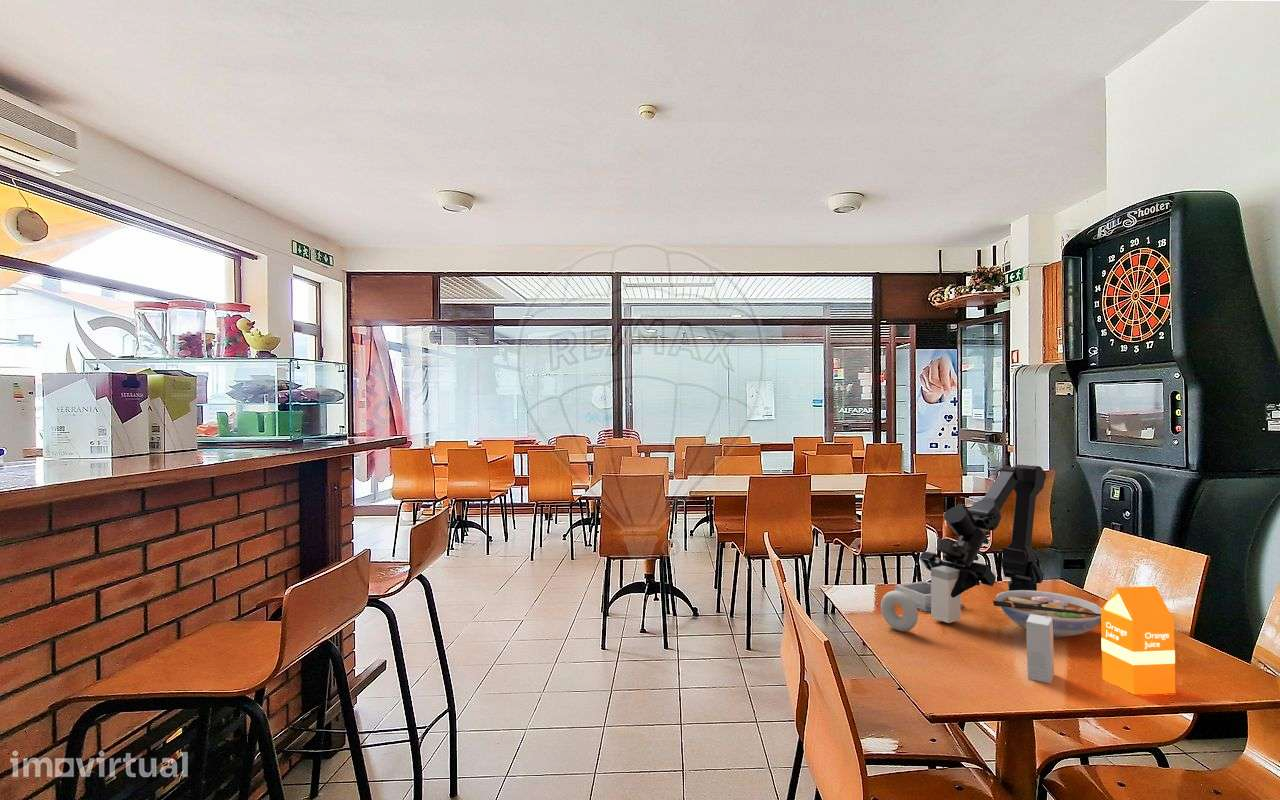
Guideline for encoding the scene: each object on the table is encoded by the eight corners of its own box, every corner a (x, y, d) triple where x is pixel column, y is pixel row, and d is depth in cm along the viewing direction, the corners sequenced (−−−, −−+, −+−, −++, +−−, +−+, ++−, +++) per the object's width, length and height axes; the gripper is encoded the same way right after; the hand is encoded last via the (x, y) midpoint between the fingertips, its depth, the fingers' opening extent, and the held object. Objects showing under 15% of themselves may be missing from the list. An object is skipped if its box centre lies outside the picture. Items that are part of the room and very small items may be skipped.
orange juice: (1101, 678, 127) (1099, 582, 128) (1141, 677, 128) (1139, 580, 128) (1134, 696, 120) (1132, 593, 120) (1176, 694, 120) (1174, 592, 120)
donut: (878, 626, 159) (877, 587, 159) (886, 623, 161) (885, 585, 161) (912, 638, 151) (912, 597, 151) (921, 635, 152) (920, 594, 153)
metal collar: (925, 592, 185) (925, 581, 185) (956, 603, 174) (956, 591, 174) (895, 597, 181) (895, 585, 181) (925, 608, 170) (925, 596, 170)
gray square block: (943, 613, 165) (943, 565, 165) (960, 619, 160) (960, 570, 160) (931, 616, 162) (931, 568, 162) (948, 623, 158) (948, 573, 158)
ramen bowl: (1097, 624, 158) (1097, 593, 158) (1124, 658, 138) (1123, 621, 138) (987, 612, 169) (986, 582, 169) (996, 641, 148) (995, 607, 148)
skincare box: (1030, 669, 132) (1029, 613, 132) (1054, 674, 130) (1053, 617, 130) (1026, 678, 128) (1025, 621, 128) (1051, 684, 125) (1050, 625, 125)
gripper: (922, 522, 172) (897, 567, 166) (988, 533, 155) (962, 584, 150) (941, 546, 175) (916, 591, 170) (1006, 560, 159) (982, 610, 153)
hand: (942, 593), depth 161 cm, fingers closed on gray square block, 5 cm apart
